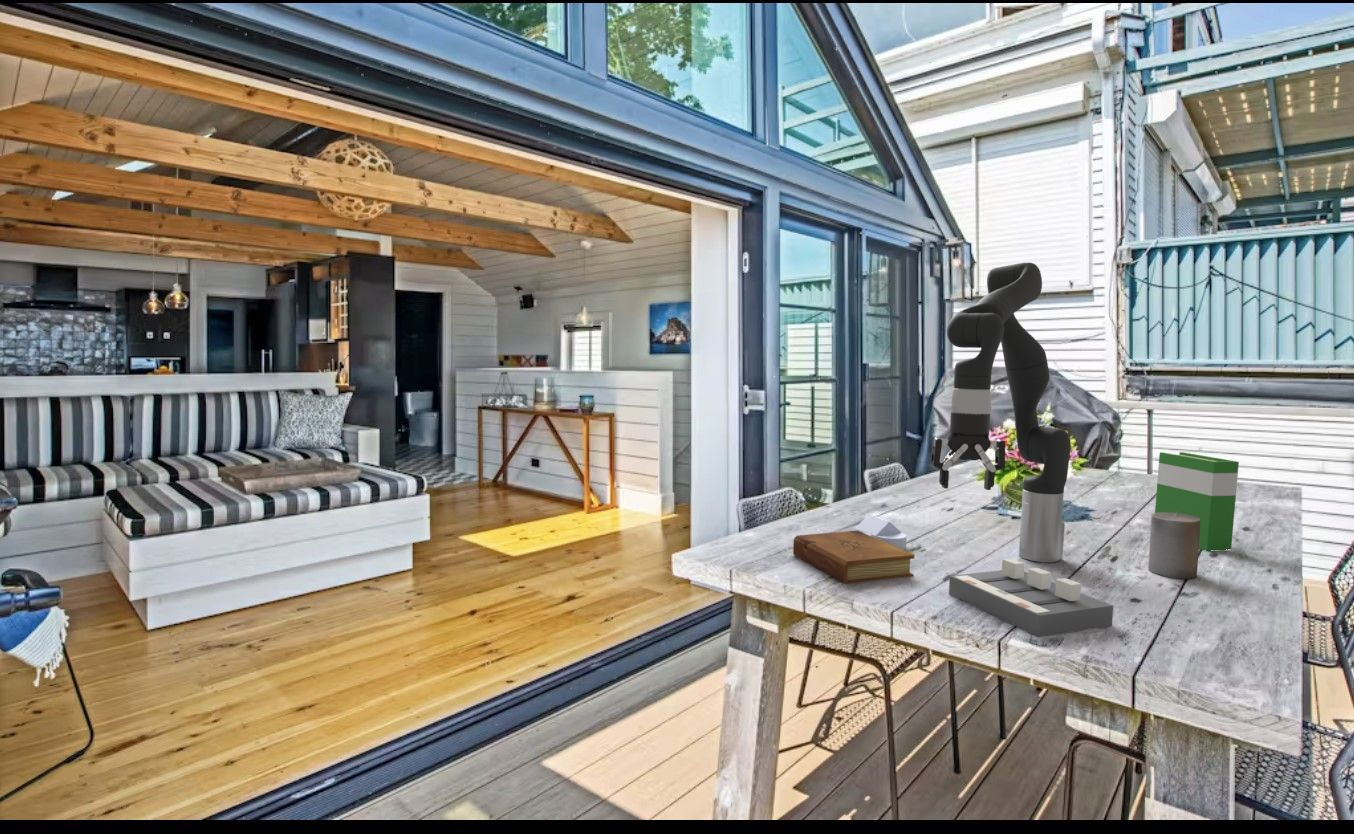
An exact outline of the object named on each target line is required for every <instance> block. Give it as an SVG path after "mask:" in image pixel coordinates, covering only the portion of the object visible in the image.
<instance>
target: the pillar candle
mask: <svg viewBox="0 0 1354 834" xmlns="http://www.w3.org/2000/svg"><path fill="white" fill-rule="evenodd" d="M1177 512H1178V511H1177ZM1177 512H1176V513H1164V512H1162V513H1155V512H1153V513H1151V514H1150V515H1151V521H1150V533H1149V534H1150V535H1149V549H1148V567H1147V569H1148V571H1149V572H1150V573H1153V574H1157V575H1159V576H1161V577H1166V578H1172V579H1181V580H1182V579H1183V580H1184V579H1187V580H1188V579H1195V578H1197V577H1198V565H1199V564H1198V562H1199V553H1200V551H1199V550H1200V549H1199V538H1200V519H1199V518H1197V517H1194V516H1190V515H1185V514H1178V513H1177Z"/></svg>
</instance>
